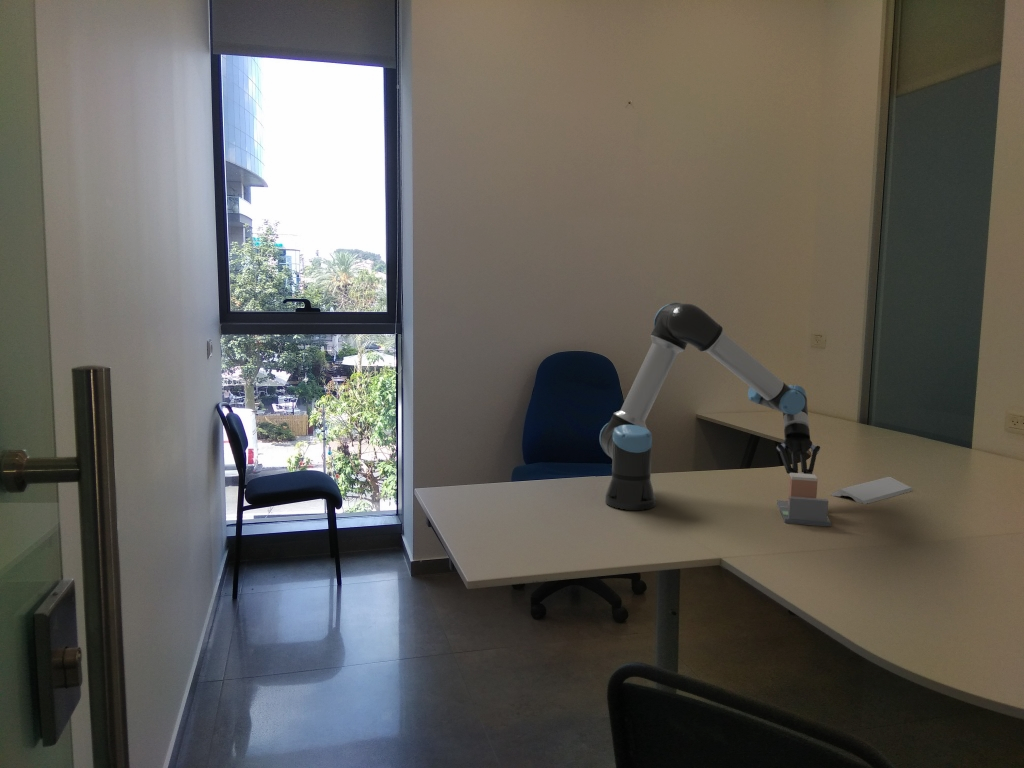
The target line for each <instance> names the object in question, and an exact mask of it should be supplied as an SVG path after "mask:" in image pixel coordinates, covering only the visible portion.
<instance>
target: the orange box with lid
mask: <svg viewBox="0 0 1024 768" xmlns="http://www.w3.org/2000/svg"><path fill="white" fill-rule="evenodd" d="M818 480H819V479H818V477H817V476H816V474H813V473H812V474H802V473H790V474H789V479H788V493H787V494H788V495H787V501H788V506H789V496H791V497H804V498H817V493H818V492H817V491H818Z"/></svg>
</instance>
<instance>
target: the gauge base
mask: <svg viewBox="0 0 1024 768" xmlns="http://www.w3.org/2000/svg"><path fill="white" fill-rule="evenodd" d="M776 505H777V508H778V510H779V512H780V515H781V517H782V519H783V522H784V523H785V524H793V525H795V524H796V525H807V526H818V527H819V526H820V527H829V526H830V527H831V525H832V522H831V520H830V519H829V517H828V512H829V511H828V510H829V500H828V499H827V498H818V497H816V498H804V497H791V496H789V506H788V500H780V499H779V500H777V501H776ZM830 527H829V528H830Z"/></svg>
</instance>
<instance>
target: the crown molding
mask: <svg viewBox="0 0 1024 768" xmlns="http://www.w3.org/2000/svg"><path fill="white" fill-rule="evenodd" d="M910 491H911V492H913V491H914V489H913V488H912V487H911V486H909V485H907V484H906V483H903V482H901V481H899V480H897V479H895V478H893V477H891V476H886V477H882V478H879V479H875V480H871V481H867V482H862V483H858V484H855V485H850V486H847V487H843V488H840V489H838V490H836V491H835V492H832V493H831V494H829V496H831V495H832V497H839V498H840V497H843V496H844V497H849V498H851V499H853V500H854V501H855V503H858V502H859V503H860V504H862V503H863V504H862V505H867V503H868V504H871V503H876V502H878V501H882V500H885V499H888V498H892V497H893V498H894V497H896V496H900V495H902V494H903V493H904V494H906V492H907V493H910Z"/></svg>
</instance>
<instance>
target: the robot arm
mask: <svg viewBox="0 0 1024 768" xmlns="http://www.w3.org/2000/svg"><path fill="white" fill-rule="evenodd" d="M653 326H654V328H653V330H652V331H651V334H650V340H651V344H650V347H649V349H648V351H647V353H646V355H645V358H644V360H643V362H642V364H641V366H640V368H639V370H638V372H637V374H636V375H635V379H634V381H633V383H632V385H631V388H630V390H628V394H627V396H626V398H625V400H624V402H623V404H622V406H621V408H620V410H618V411H616V412H615V411H614V412H613V414H612V416H611V418H610V420H609V421H608V422H607V423H606V424H605V425H603V427H602V428H601V430H600V433H599V444H600V447H601V448H602V450H603V452H604V453H605V454H606V455H607V457H609V458H611V460H612V463H611V466H612V467H611V479H610V482H609V485H608V487H607V491H606V494H605V497H604V498H605V499H604V500H605V504H606V505H607V504H608V505H607V506H609V505H610V506H609V507H611V506H612V507H611V508H614V507H615V508H614V509H618V508H620V509H619V510H623V509H625V510H626V511H645V510H644V509H646V510H651V509H653V508H655V506H656V495H655V491H654V489H653V485H652V484H653V483H652V481H651V475H652V474H651V472H652V470H651V469H652V448H653V435H652V431H651V430H649V429H648V426H647V424H646V420H647V418H648V416H649V414H650V411H651V410H652V407H653V405H654V404H655V401H656V399H657V397H658V395H659V393H660V391H661V388H662V387H663V385H664V382H665V380H666V378H667V376H668V373H669V372H670V371H671V368H672V366H673V363H674V362H675V361H676V360H675V359H676V357H677V355H678V354H679V353H683V352H684V351H685V350H686V348H687V346H688V345H691V346H693V347H694V348H696V349H697V350H698V351H700V352H701V353H705V352H706V353H707V354H708V355H710V356H711V357H712V358H713V359H715V360H716V361H717V362H718V363H720V365H723V366H724V368H726V369H727V370H728V371H730V372H731V373H732V374H733V375H734V376H736V377H737V378H738V379H740V380H741V381H742V382H743V383H744V384H746V385H747V386H748V387H749V388H748V390H747V398H748V400H749V401H750V402H753V403H755V404H756V405H759V406H760V405H761V406H762V407H766V408H768V409H772V410H775V411H777V412H780V413H782V416H783V428H784V430H783V433H784V440H783V442H782V443H777V446H776V451H777V452H778V453H779V455H780V457H781V461H782V463H783V466H784V468H785V472H786V474H789V475H790V473H802V474H813V472H814V467H815V463H816V458H817V455H818V454H819V452H820V449H821V446H820V445H814V444H813V442H812V440H811V434H810V433H811V432H810V422H809V413H808V398H807V393H806V389H805V388H804V387H802V386H801V385H797V384H795V385H793V384H789V385H788V384H787V383H785V382H784V381H783V380H782V379H780V378H779V377H778V376H777V375H775V374H774V373H773V372H772V371H771V370H769V369H768V368H767V367H766V366H764V364H762V363H761V362H759V361H758V360H757V359H756V358H755V357H754V356H752V355H751V353H749V352H748V351H746V350H745V349H744V348H742V346H740V345H739V344H738V343H737V342H736V341H734V340H733V339H732V338H731V337H729V336H728V335H727V334H726V333H725V332H724V326H723V327H722V325H720V324H719V323H718V322H717V321H715V319H713V317H711V316H710V315H709V314H708V313H706V312H705V311H704V310H703V309H701V308H700V307H699V306H697V305H696V304H691V303H681V302H672V303H668V304H666V305H664V306H662V307H660V308H659V310H658V311H657V312H656V314H655V316H654V321H653ZM786 450H787V451H788V452H789V453H790V454H791V456H790V457H791V462H790V459H789V455H788V454H787V451H786ZM809 451H810V452H811V457H810V462H809V466H808V463H807V453H808V452H809ZM798 455H799V458H800V468H801V470H800V471H799V464H798V462H799V461H798ZM652 507H653V508H652ZM625 510H624V511H625Z"/></svg>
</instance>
